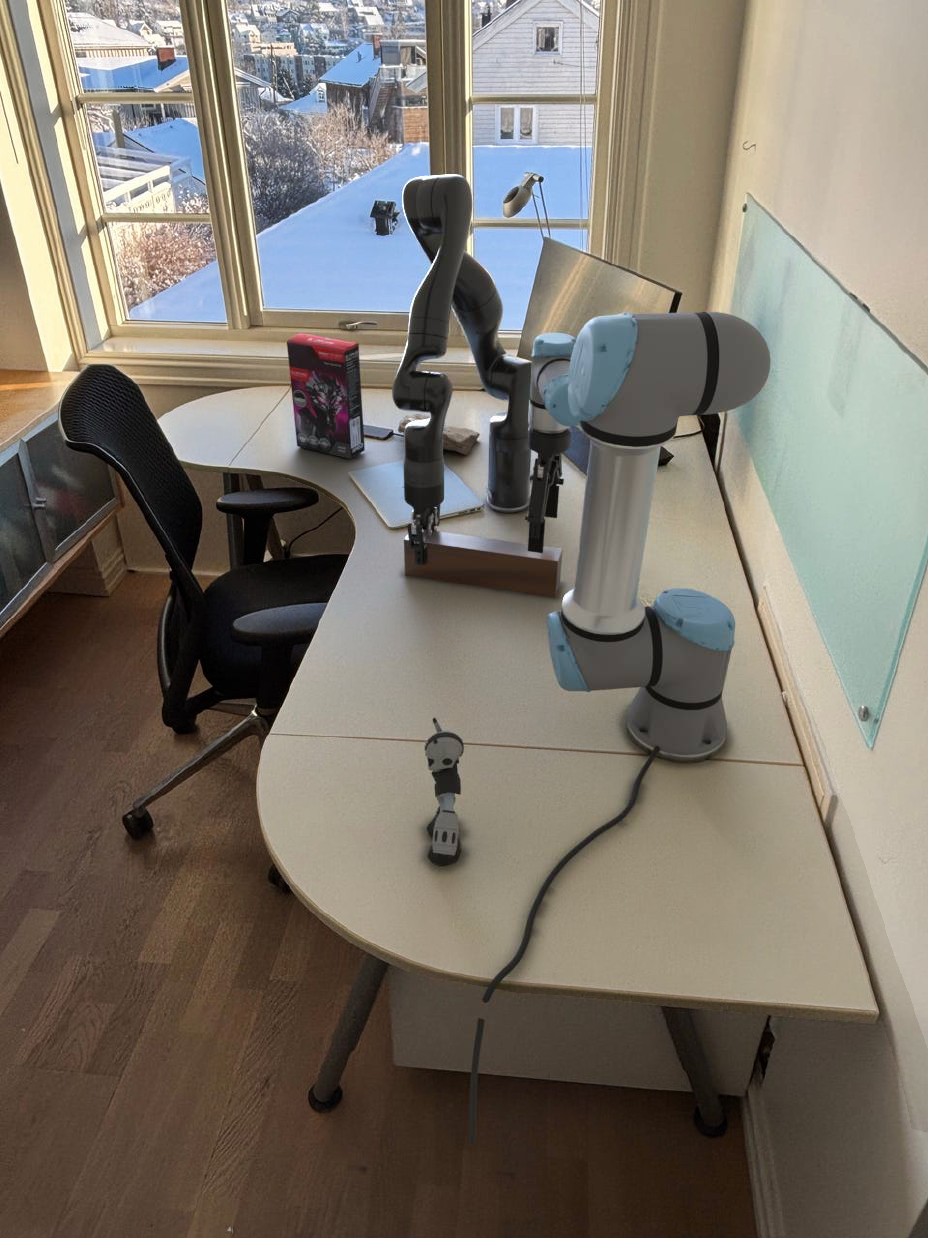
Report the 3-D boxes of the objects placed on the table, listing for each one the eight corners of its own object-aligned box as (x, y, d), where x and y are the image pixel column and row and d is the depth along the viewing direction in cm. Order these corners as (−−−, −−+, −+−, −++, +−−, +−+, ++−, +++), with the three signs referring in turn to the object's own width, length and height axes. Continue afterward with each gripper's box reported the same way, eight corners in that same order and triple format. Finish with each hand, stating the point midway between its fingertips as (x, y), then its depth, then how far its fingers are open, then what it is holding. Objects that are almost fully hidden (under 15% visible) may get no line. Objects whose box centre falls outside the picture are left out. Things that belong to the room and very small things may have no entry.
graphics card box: (294, 447, 232) (283, 339, 217) (310, 437, 237) (301, 331, 222) (351, 461, 225) (344, 350, 210) (367, 450, 230) (361, 342, 215)
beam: (555, 597, 175) (557, 561, 170) (404, 575, 181) (403, 539, 177) (559, 584, 179) (562, 548, 174) (412, 562, 185) (411, 527, 181)
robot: (466, 900, 116) (468, 784, 104) (427, 902, 115) (425, 785, 104) (459, 789, 132) (460, 678, 121) (425, 790, 132) (423, 679, 120)
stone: (382, 437, 229) (387, 414, 227) (402, 429, 243) (406, 406, 240) (461, 462, 226) (467, 438, 223) (477, 452, 239) (482, 429, 237)
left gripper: (431, 496, 165) (433, 577, 174) (453, 464, 176) (453, 542, 186) (392, 491, 166) (395, 572, 176) (416, 459, 178) (418, 537, 187)
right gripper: (558, 457, 148) (549, 570, 160) (583, 402, 168) (574, 505, 180) (512, 452, 150) (507, 563, 162) (542, 397, 170) (536, 500, 182)
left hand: (425, 556), depth 181 cm, fingers closed on beam, 5 cm apart
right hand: (542, 533), depth 171 cm, fingers open, 13 cm apart
